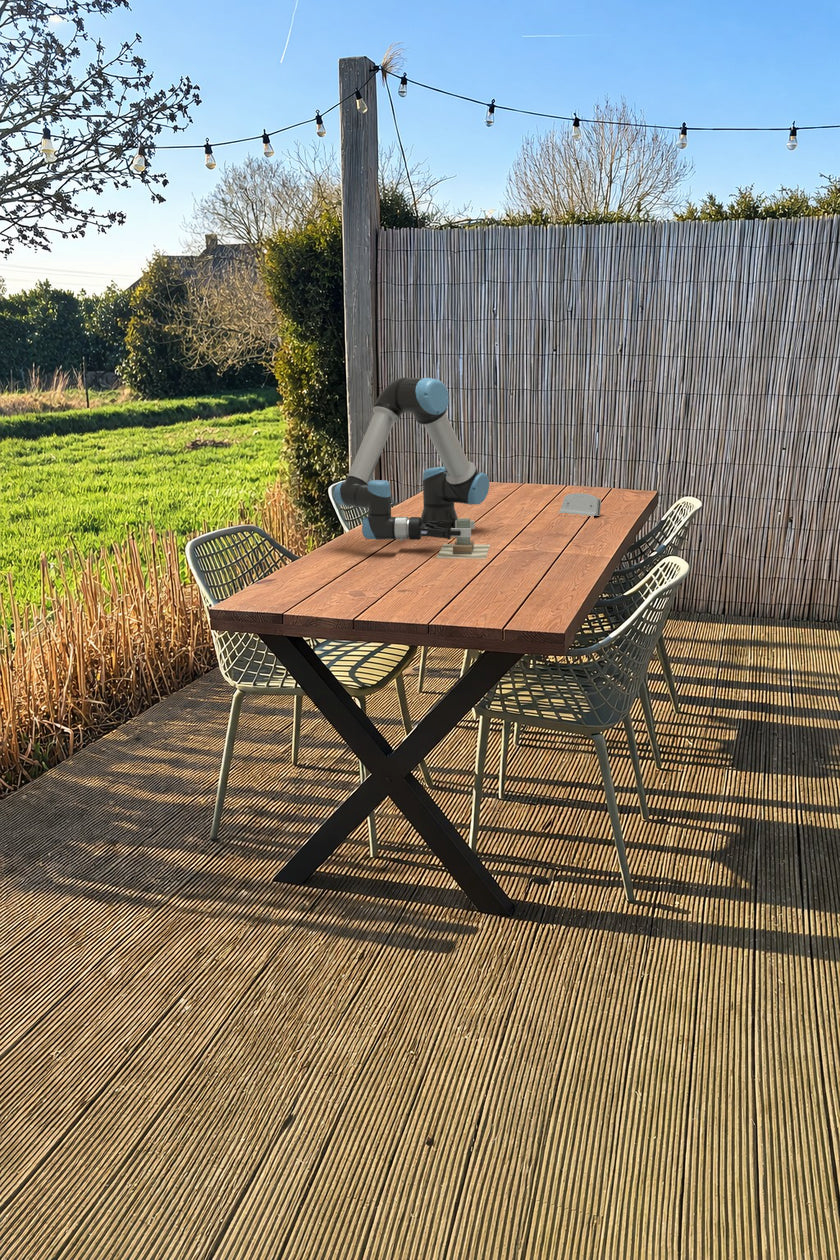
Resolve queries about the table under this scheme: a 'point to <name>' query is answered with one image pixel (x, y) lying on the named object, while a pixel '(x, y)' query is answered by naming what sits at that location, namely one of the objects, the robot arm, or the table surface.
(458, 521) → the block
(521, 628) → the table surface
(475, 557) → the board
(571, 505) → the hinge
